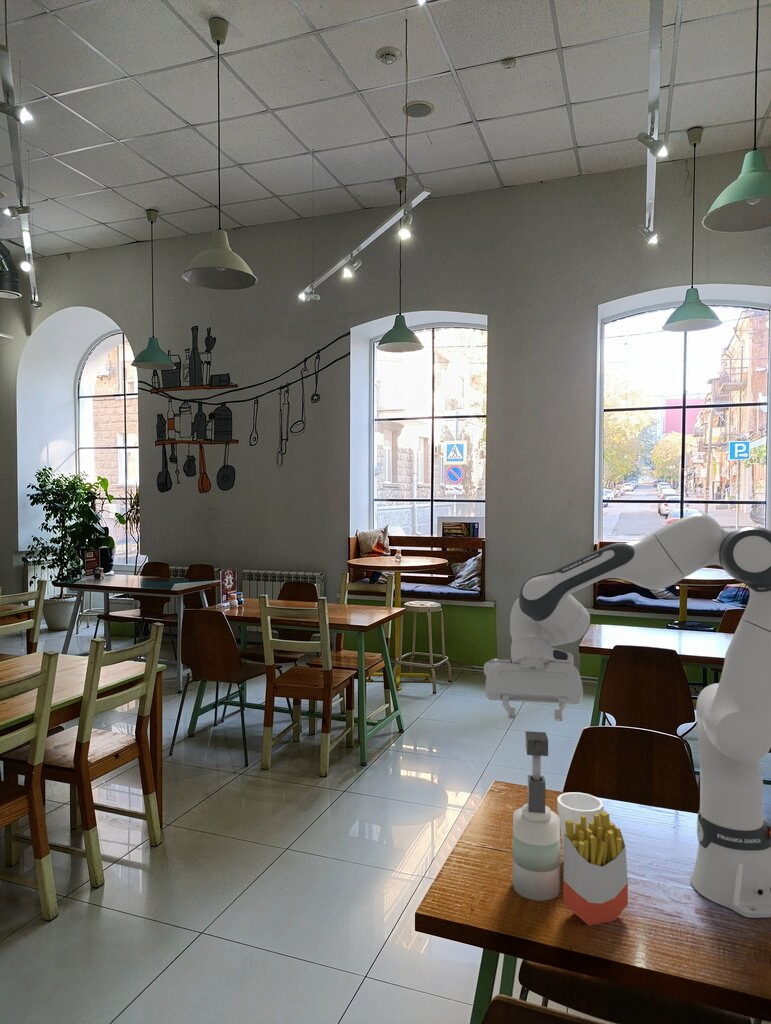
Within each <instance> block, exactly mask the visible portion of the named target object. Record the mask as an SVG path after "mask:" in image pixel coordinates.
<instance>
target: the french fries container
mask: <svg viewBox="0 0 771 1024" xmlns="http://www.w3.org/2000/svg"><path fill="white" fill-rule="evenodd" d="M609 818H610V813H608V812H607V811H605V810H603V812H600V819H599V815H598V814H594V822H593V821H591V822H590V823H589V829H587V828H586V816H585V815H581V824H580V823H579V822H575V833H574V826H573V822H572V821H571V820H567V821H565V823H566V834H564V851H563V903H564V904H565V905H566V906H567V907H568V908H569V909H570V910H571V911H572V912H573V913H574V914H575V915H576V916H577V917H578V918H579V919H581V921H583V922H584V923H585V924H586V925H588V926H589V925H590V926H594V924H595V925H600V924H604V923H608V922H614V921H616V920H617V919H618V917H619V916H620V915H621V914H622V912H623V911H624V910H625V909H626V907H627V906H628V903H629V899H628V898H629V891H628V889H629V880H628V865H627V850H626V847H627V846H626V844H625V840H624V837H623V834H622V832H621V828H620V827H616V824H615V823H614V822H611V823H610V821H609ZM600 825H601V826H600Z"/></svg>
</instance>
